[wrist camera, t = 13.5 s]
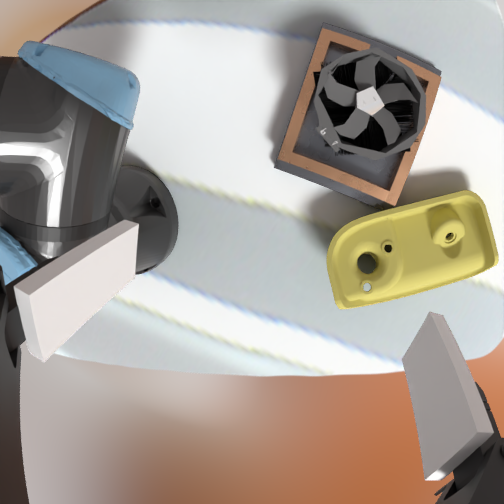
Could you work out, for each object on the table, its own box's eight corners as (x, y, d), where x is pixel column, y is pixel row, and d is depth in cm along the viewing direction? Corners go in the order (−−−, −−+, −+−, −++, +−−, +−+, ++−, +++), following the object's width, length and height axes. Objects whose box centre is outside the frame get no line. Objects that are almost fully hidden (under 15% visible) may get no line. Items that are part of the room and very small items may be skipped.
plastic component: (479, 186, 29) (502, 272, 27) (459, 201, 36) (477, 274, 34) (317, 227, 33) (338, 320, 32) (321, 237, 41) (339, 313, 39)
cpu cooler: (417, 47, 20) (433, 158, 24) (403, 60, 25) (417, 153, 29) (301, 52, 23) (319, 165, 26) (306, 65, 28) (321, 159, 32)
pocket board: (275, 166, 36) (271, 169, 33) (323, 26, 28) (322, 17, 26) (388, 211, 35) (392, 218, 32) (438, 72, 27) (446, 68, 24)
